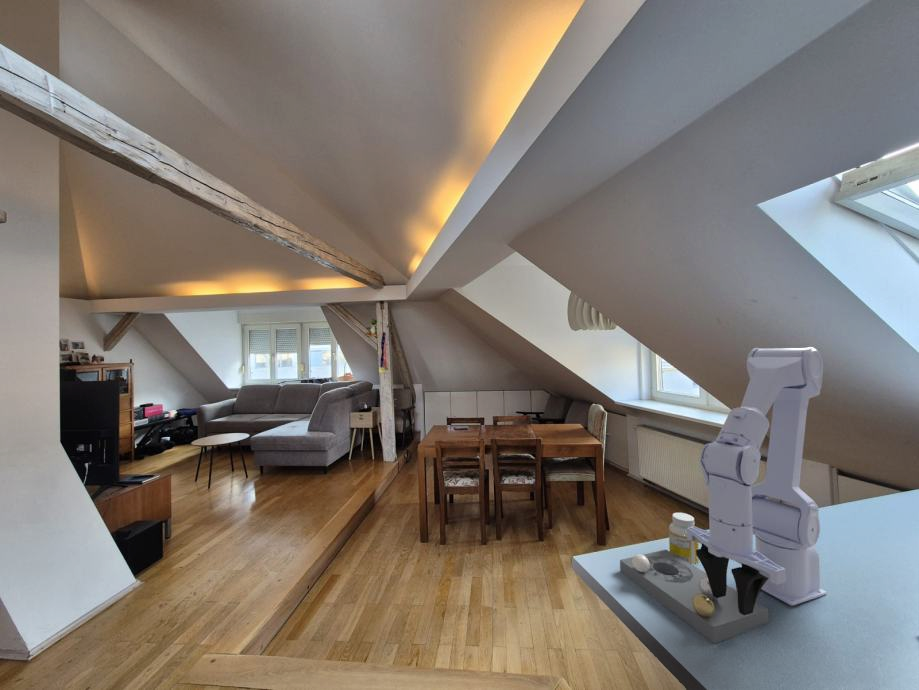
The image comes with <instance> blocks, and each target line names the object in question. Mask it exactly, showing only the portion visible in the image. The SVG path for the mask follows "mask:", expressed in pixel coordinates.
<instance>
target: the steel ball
mask: <svg viewBox="0 0 919 690" xmlns="http://www.w3.org/2000/svg"><path fill="white" fill-rule="evenodd" d="M699 589H700V592H701V593H702V594H703V595H706V596H707V597H709V598H710V599H712V600H715V599H718V598H715V597H714V596H713V593H712V590H711V586H710V583H709V580H708V577H705V578H702V579H701V580H700V581H699Z"/></svg>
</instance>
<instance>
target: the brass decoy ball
mask: <svg viewBox="0 0 919 690" xmlns="http://www.w3.org/2000/svg"><path fill="white" fill-rule="evenodd" d="M692 603H693V607H694V609H695V611H696V612H697V613H698V614H700V615H701V616H704V617H710V616H712V615H713V614H714V611H715V607H714V604H713V602H712V600H711V599H710V598H709V597H707V596H706V595H703V594H698V595H696V596H694V598H693V601H692Z"/></svg>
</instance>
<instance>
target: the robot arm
mask: <svg viewBox="0 0 919 690" xmlns="http://www.w3.org/2000/svg"><path fill="white" fill-rule="evenodd" d="M746 369H747V374H748V377H749V382H748V384H747V387H746V390H745V393H744V396H743V399H742V401H741V405H740V407H735V408H732V409H731V410H730V411H729V413H728V415H727V417H726V418H725V421H724V423H723V425H722V427H721V429H720V431H719V433H718V435H717V437H716V438H715V440H714V441H712V442H710V443H706V444H705V445H704V447H703V448H702V450H701V455H700V458H699V466H700V470H701V471H702V473H703V479H704V484H705V486H707V487H708V514H709V515H708V519H709V521H708V524H709V531H708V530H705V529H702V528H699V527H697V526H695V525H694V527H689V528H687V539H689V540H691V541H697V542H698V544H701V546H700V548H698V550H696V555H697V557H698V558H699V562H700V563H701V565H702V567H703V569H704V572H705V573H706V574H707V577H708V580H709V583H710V586H711V590H712V593H713V596H714V597H715V598H720V597H723V596H726V590H727V584H728V582H727V578H728V577H727V576H728V574H727V573H728V565H729V562H730V560H731V561H733V562H736V563H739V564H740V565H741V566H739V567H734V568H731V574H732V577H733V579H734V583H735V586H736V591H737V594H738V609H739V613H741V614H742V615H747V614H751V613H753V609H754V605H755V602H757V599H758V596H759V594H760V592H761V590H762V591H763V592H765V593H767V594H769V595H771V596H773V597H775V598H776V599H778V600H780V601H782V602H783V603H785V604H787V605H789V606H796V605H798V604H802V603H805V602H807V601H811V600H814V599H816V598H817V599H818V598H819V597H823V596H826V595H827V591H826V590H824V589H823V588H821V577H820V575H821V573H820V572H821V571H820V568H821V567H820V556H819V553H818V550H817V549H816V547H815V545H816V544H817V543H818V540H819V538H820V532H821V524H820V519H819V506H818V504H817V503H816V502H815V501H814V499H812V498H811V497H810V496H809V495H808V494H807V493H806V492H804V491H803V490H802V489H801V488H800V483H801V472H802V463H803V454H804V453H803V452H804V443H805V433H806V432H805V431H806V424H807V423H806V422H807V411H808V407H809V402H810V401H809V400H810V399H812V398H814V397H817V396H820V394H821V389H822V385H823V373H824V363H823V360H822V355H821V353H820V352H819V351H818V350H817V349H816V348H815V347H813V346H809V347H799V348H798V347H793V348H792V347H787V348H783V347H781V348H777V347H776V348H760V347H755V348H752V349H751V350H750V352H749V353H748V355H747V357H746ZM772 405H773V406H772ZM771 407H773V408H772V415H771V425H770V421H769V419H768V417H766V415H767V414H768V412H769V410H770V409H771ZM769 428H770V435H769V442H768V449H767V450H768V451H767V459H766V469H765V475H764V478H765V479H764V480H763V481H762V482H759V483H756V484H754V483H755V482H756V480H757V478H758V477H759V473H760V462H761V458H762V454H761V452H760V450H761V448H762V447H761V446H762V444H763V441H764V440H765V438H766V435H767V433H768V430H769ZM753 484H754V485H753ZM770 498H772V499H770ZM773 499H777V500H781V501H784V502H788V503H791V504H793V505H790V504H788V503H783V502H779V501H776V500H773ZM794 505H795V506H794ZM754 537H755V538H754ZM754 542H755V543H754ZM754 544H755V548H754Z"/></svg>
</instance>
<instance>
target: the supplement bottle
mask: <svg viewBox="0 0 919 690" xmlns="http://www.w3.org/2000/svg"><path fill="white" fill-rule="evenodd" d="M671 518H672V522H671V523H670V524H669V526H668V539H669V540H668V541H669V552H671V553H673V554H675V555H676V556H678V557H680V558H681V559H683V560H685V561H687V562H688V563H690V564H695V565H697V564H698V563H699V562H700V560H699V558H698V557H697V555H696V550H698V549H699V542H697V541H691V540H689V539H687V528H689V527H694V526H695V523H696V522H695V517H693V516H692V515H690V514H688V513H685V512H673V513H672V517H671ZM684 535H685V536H684ZM698 561H699V562H698ZM696 563H697V564H696Z"/></svg>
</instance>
